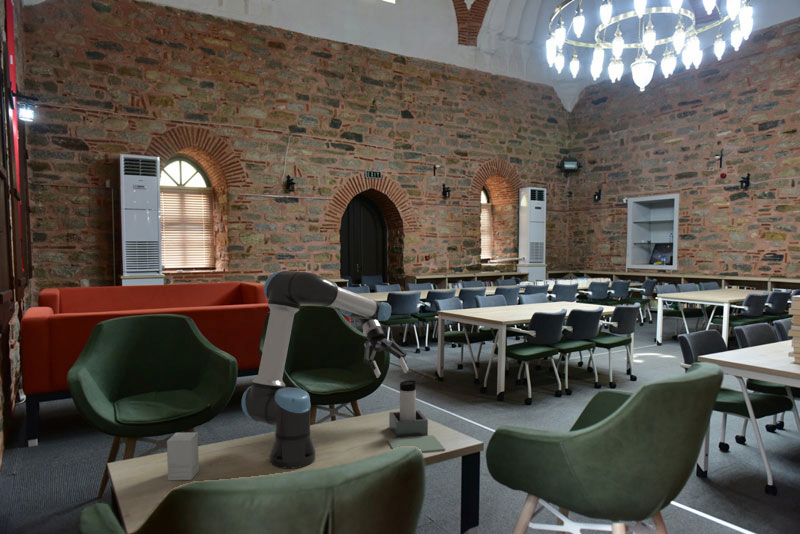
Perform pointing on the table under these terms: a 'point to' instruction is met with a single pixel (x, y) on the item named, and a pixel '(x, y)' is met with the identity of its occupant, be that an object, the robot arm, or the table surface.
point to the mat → (418, 443)
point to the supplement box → (182, 456)
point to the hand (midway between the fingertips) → (393, 373)
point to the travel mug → (408, 400)
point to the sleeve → (408, 425)
